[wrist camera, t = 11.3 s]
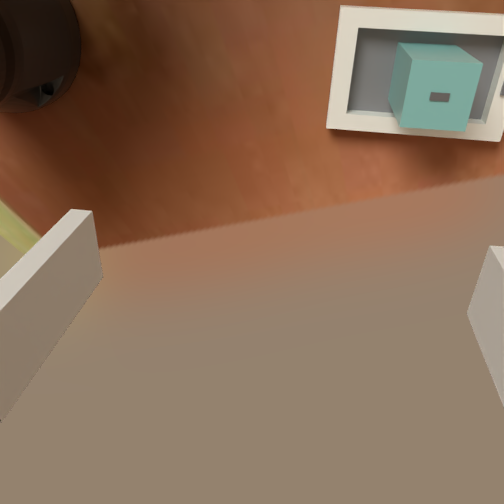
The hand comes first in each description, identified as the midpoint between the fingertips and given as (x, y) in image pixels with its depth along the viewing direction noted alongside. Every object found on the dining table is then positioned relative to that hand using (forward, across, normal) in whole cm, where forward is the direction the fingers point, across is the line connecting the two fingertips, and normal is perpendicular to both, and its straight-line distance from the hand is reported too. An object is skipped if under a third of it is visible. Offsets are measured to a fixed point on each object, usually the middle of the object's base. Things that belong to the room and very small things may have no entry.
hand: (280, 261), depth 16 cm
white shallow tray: (+34, +10, 0) cm, 35 cm away
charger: (+34, +10, 0) cm, 35 cm away
